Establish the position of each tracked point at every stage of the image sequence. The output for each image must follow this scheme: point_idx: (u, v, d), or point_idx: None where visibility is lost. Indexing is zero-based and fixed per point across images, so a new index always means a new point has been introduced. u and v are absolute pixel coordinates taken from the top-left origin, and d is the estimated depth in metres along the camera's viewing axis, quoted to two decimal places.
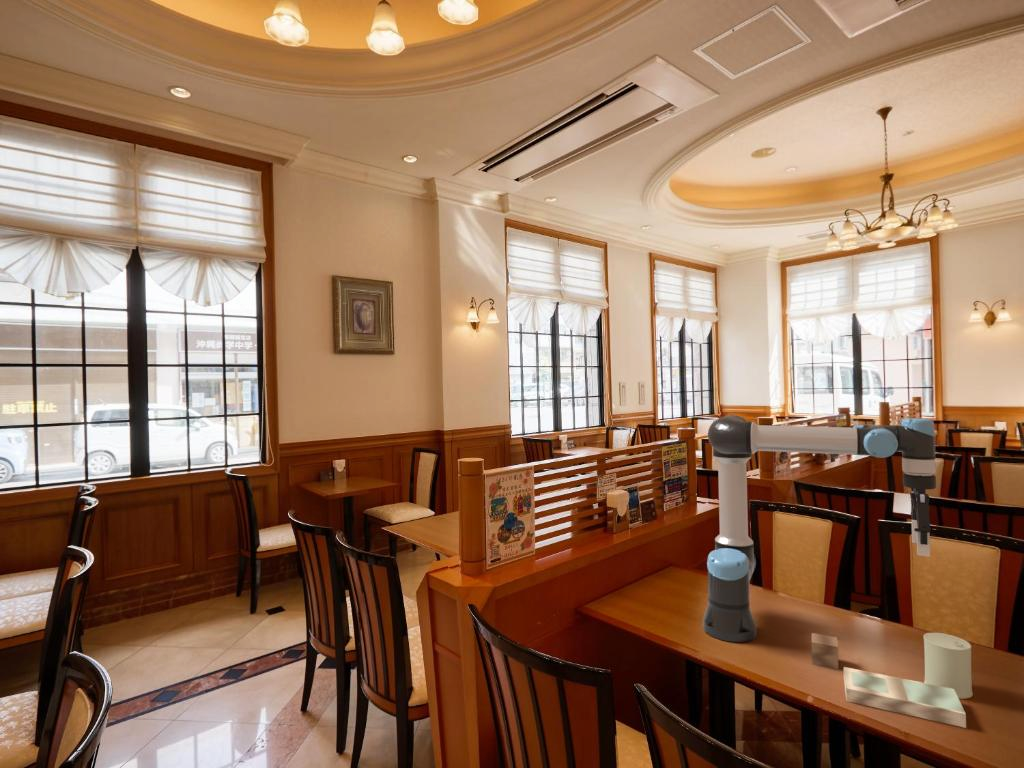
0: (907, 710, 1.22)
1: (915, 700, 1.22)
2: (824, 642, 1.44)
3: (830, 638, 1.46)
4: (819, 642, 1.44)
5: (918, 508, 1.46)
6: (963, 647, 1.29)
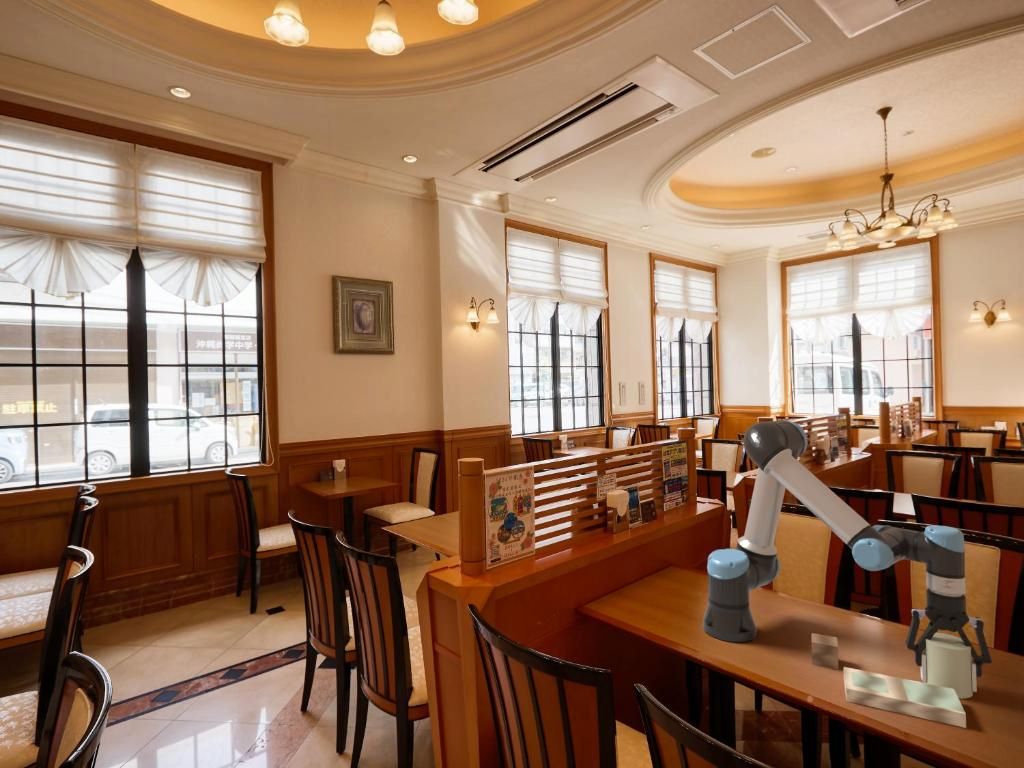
0: (907, 710, 1.22)
1: (915, 700, 1.22)
2: (824, 642, 1.44)
3: (830, 638, 1.46)
4: (819, 642, 1.44)
5: None
6: (963, 647, 1.29)
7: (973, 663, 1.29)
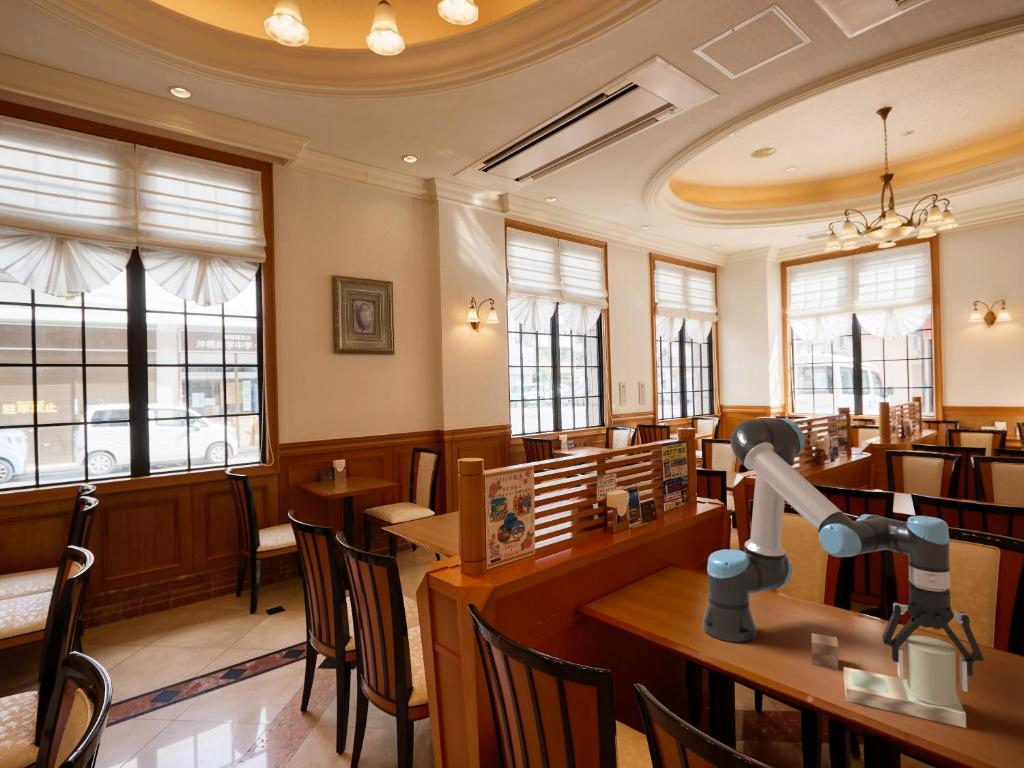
0: (907, 710, 1.22)
1: (915, 700, 1.22)
2: (824, 642, 1.44)
3: (830, 638, 1.46)
4: (819, 642, 1.44)
5: None
6: (947, 651, 1.21)
7: (964, 661, 1.21)
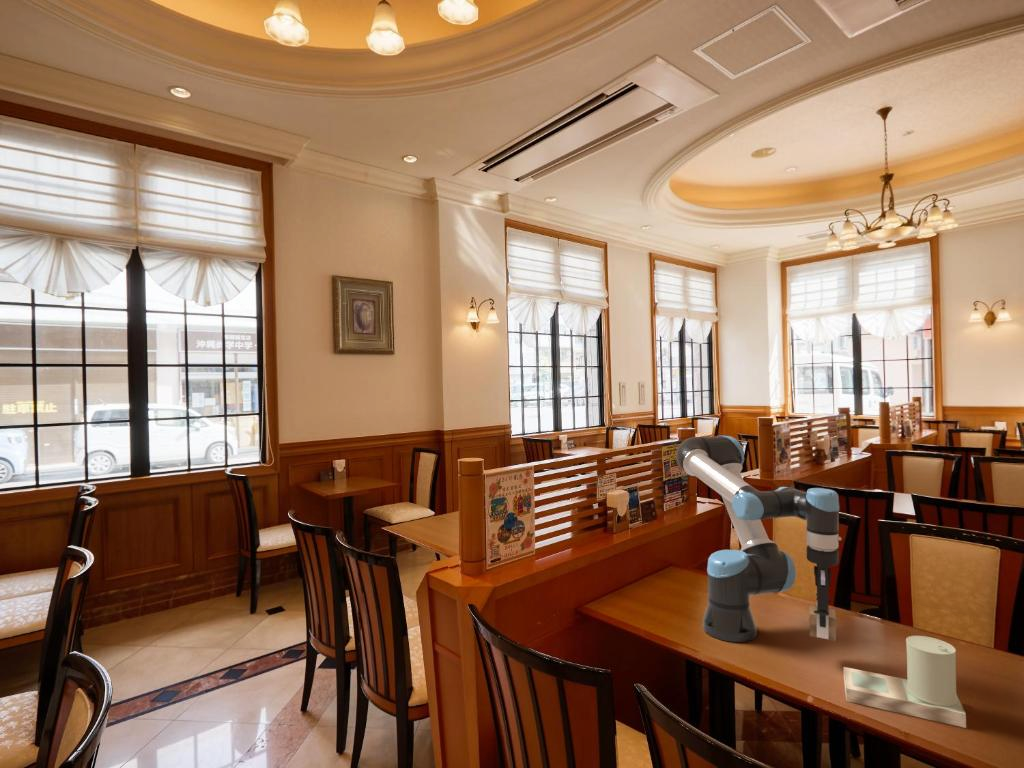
0: (907, 710, 1.22)
1: (915, 700, 1.22)
2: None
3: (828, 610, 1.47)
4: None
5: (818, 591, 1.41)
6: (947, 651, 1.21)
7: None
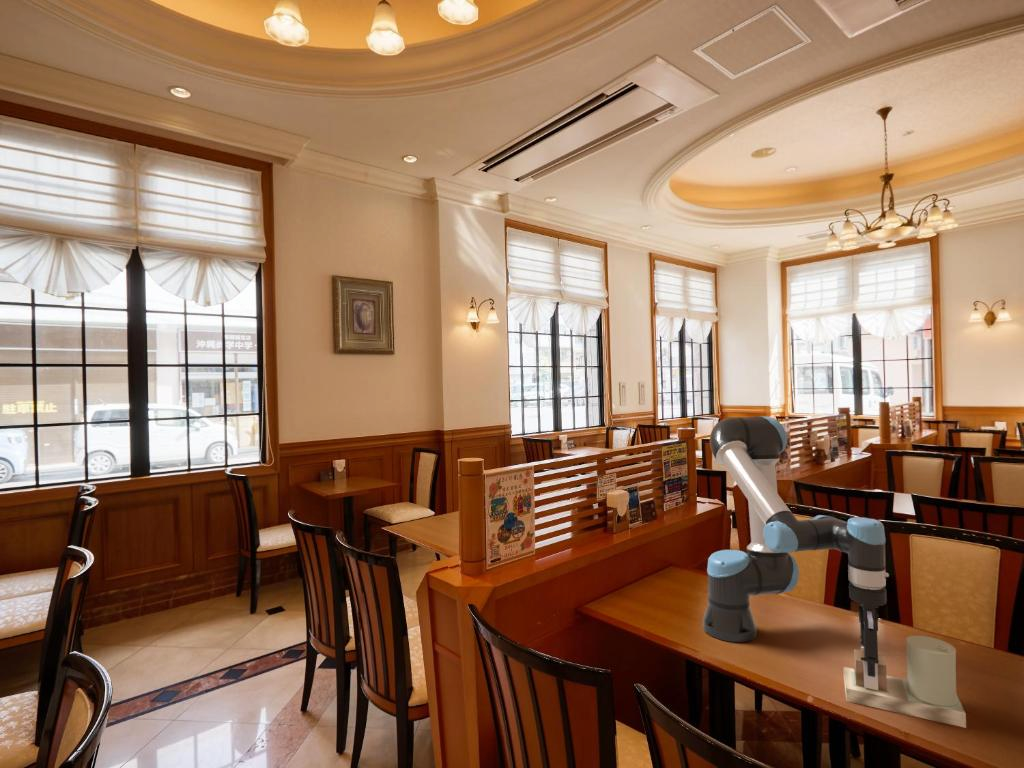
0: (907, 710, 1.22)
1: (915, 700, 1.22)
2: None
3: None
4: None
5: (865, 636, 1.25)
6: (947, 651, 1.21)
7: None
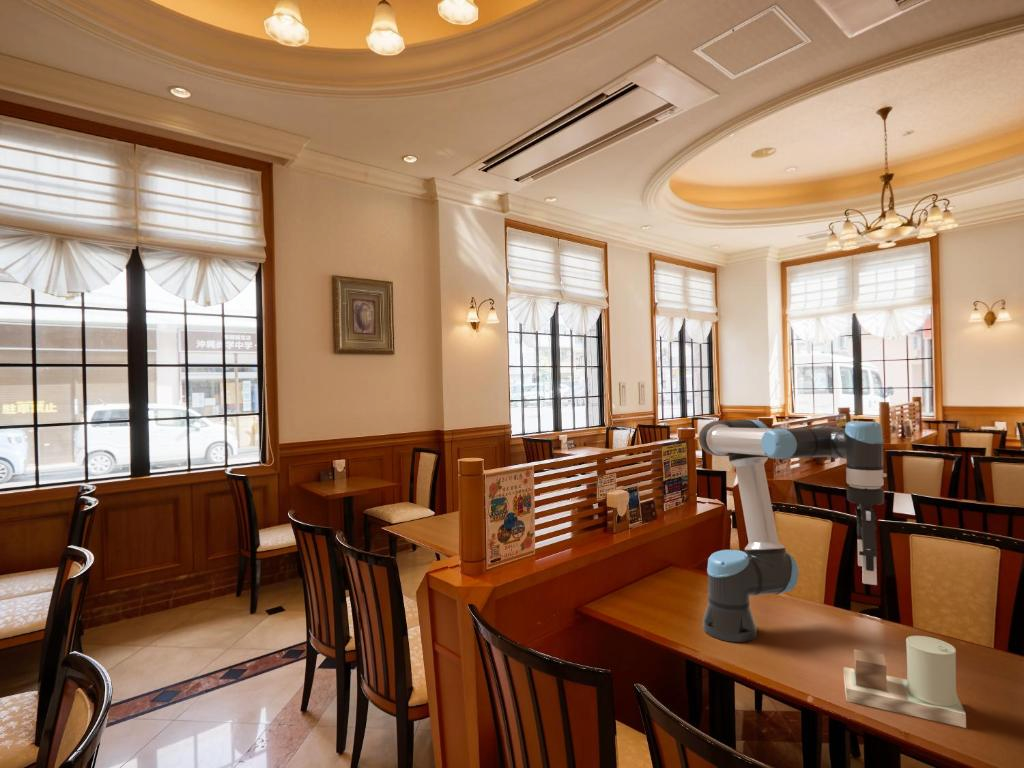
0: (907, 710, 1.22)
1: (915, 700, 1.22)
2: (870, 660, 1.28)
3: (876, 655, 1.30)
4: (863, 660, 1.28)
5: (863, 528, 1.24)
6: (947, 651, 1.21)
7: None
